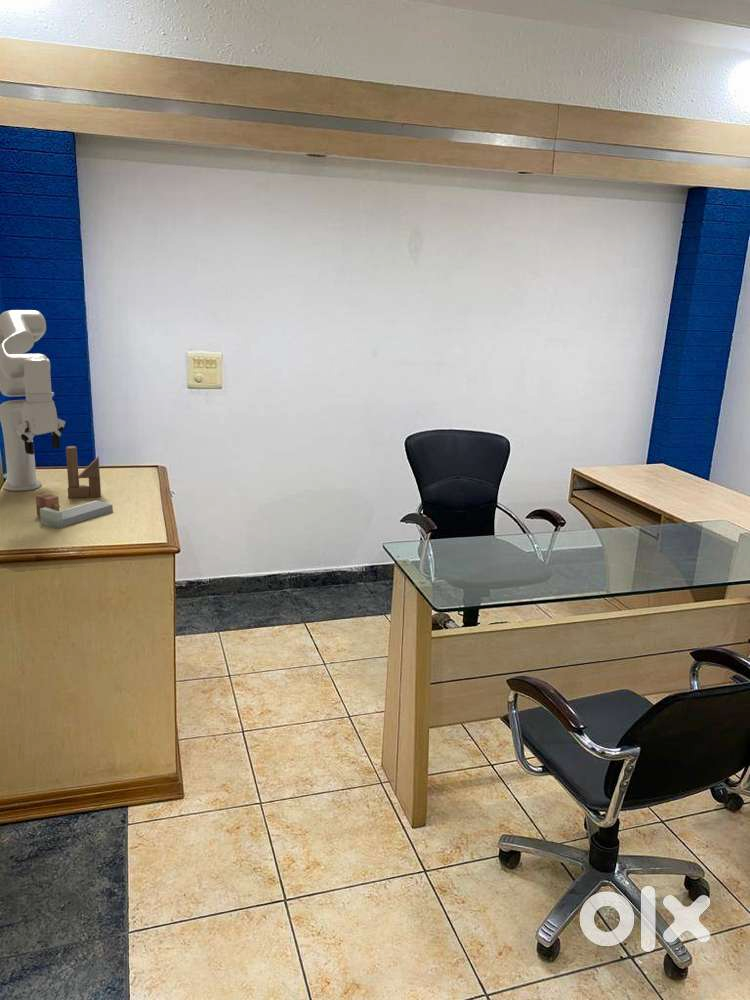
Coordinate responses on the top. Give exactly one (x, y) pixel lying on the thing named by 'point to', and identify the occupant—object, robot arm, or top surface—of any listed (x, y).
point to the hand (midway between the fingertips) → (43, 450)
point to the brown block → (47, 502)
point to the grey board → (74, 514)
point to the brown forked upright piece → (82, 476)
